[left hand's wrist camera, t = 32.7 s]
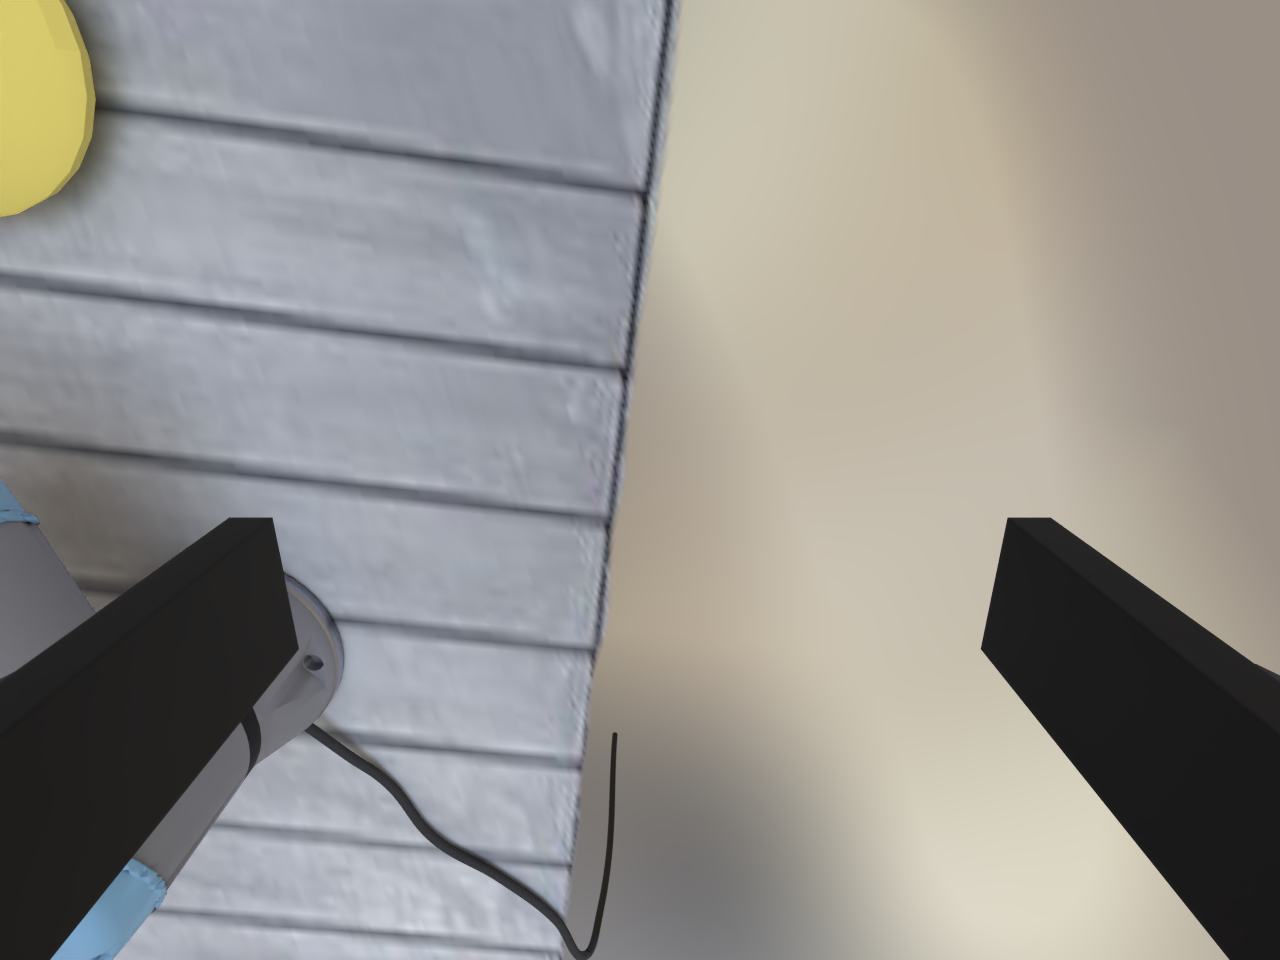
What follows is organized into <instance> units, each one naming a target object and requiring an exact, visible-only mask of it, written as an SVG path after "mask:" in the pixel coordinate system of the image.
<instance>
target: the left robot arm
mask: <svg viewBox="0 0 1280 960" xmlns="http://www.w3.org/2000/svg"><path fill="white" fill-rule="evenodd" d="M39 523H40V522H39V521H38V519H37V518H36V517H35V516H34V515H32V514H31V513H27V512H25V510H24V509H23V508H22V506H21V505H20V504H19V502H18V501H17V500H16V499H15V497H14V496H13V495H12V493H11V492H10V491H9V489H8V488H7V487H6V486H5V484H4V483H3V482H2V480H1V479H0V960H113V959H114V957H115V956H116V955H117V954H118V953H119V952H120V950H121V949H122V948H123V947H124V945H125V944H126V943H127V942H128V941H129V939H130V938H131V937H132V936H133V934H134V933H135V932H136V931H137V930H138V928H139V927H140V926H141V925H142V923H143V922H144V921H145V920H146V919H147V917H148V916H149V915H150V914H151V913H153V912H154V911H155V910H156V909H157V908H158V907H159V906H160V905H161V903H162V902H163V900H164V897H165V895H166V894H167V892H166V891H167V889H168V888H169V886H170V885H171V884H172V882H173V881H174V879H175V878H176V876H177V875H178V874H179V872H180V871H181V869H182V868H183V866H184V865H185V864H186V862H187V861H188V859H189V858H190V856H191V855H192V854H193V852H194V851H195V849H196V848H197V847H198V845H199V844H200V842H201V841H202V839H203V838H204V837H205V835H206V834H207V832H208V831H209V829H210V828H211V827H212V825H213V824H214V822H215V821H216V819H217V818H218V817H219V815H220V814H221V812H222V811H223V810H224V808H225V807H226V805H227V804H228V802H229V801H230V800H231V798H232V797H233V795H234V794H235V792H236V791H237V790H238V788H239V787H240V785H241V784H242V782H243V781H244V779H245V778H246V777H247V775H248V774H249V772H250V771H251V770H252V768H253V767H254V766H255V765H256V764H258V763H259V762H260V761H262V760H263V759H265V758H266V757H267V756H269V755H270V754H272V753H273V752H275V751H276V750H277V749H279V748H280V747H282V746H283V745H285V744H286V743H287V742H289V741H290V740H292V739H293V738H294V737H296V736H297V735H299V734H300V733H301V732H303V731H306V732H307V733H308V734H310V735H311V736H313V737H314V738H315V739H317V740H318V741H320V742H321V743H322V744H324V745H325V746H326V747H328V748H329V749H331V750H332V751H333V752H335V753H336V754H338V755H339V756H340V757H342V758H343V759H345V760H346V761H348V762H349V763H351V764H352V765H354V766H355V767H357V768H359V769H360V770H362V771H363V772H365V773H367V774H368V775H370V776H371V777H373V778H374V779H375V780H377V781H378V782H379V783H380V784H382V785H383V786H384V787H385V788H386V789H387V790H388V791H389V792H390V793H391V794H392V795H393V796H394V798H395V799H396V800H397V801H398V803H399V804H400V805H401V807H402V808H403V809H404V811H405V812H406V814H407V815H408V817H409V818H410V820H411V821H412V822H413V824H414V825H415V826H416V828H417V829H418V830H419V831H420V832H421V833H422V834H423V835H424V836H425V837H426V838H427V839H428V840H429V841H430V842H431V843H432V844H434V845H435V846H436V847H437V848H439V849H440V850H442V851H443V852H445V853H446V854H448V855H449V856H451V857H453V858H455V859H456V860H458V861H460V862H462V863H464V864H466V865H468V866H470V867H472V868H474V869H476V870H478V871H480V872H482V873H484V874H486V875H487V876H489V877H491V878H492V879H494V880H496V881H497V882H499V883H500V884H502V885H503V886H505V887H506V888H508V889H509V890H511V891H512V892H514V893H515V894H517V895H518V896H520V897H521V898H523V899H524V900H526V901H527V902H528V903H530V904H531V905H532V906H534V907H535V908H536V909H538V910H539V911H540V912H541V913H542V914H543V915H545V916H546V917H547V918H548V919H549V920H550V921H551V922H552V923H553V924H554V925H555V926H556V927H557V929H558V930H559V932H560V934H561V935H562V937H563V939H564V941H565V943H566V945H567V947H568V949H569V951H570V953H571V954H572V955H573V957H574V958H575V959H576V960H587V959H589V958H590V957H591V956H592V954H593V953H594V951H595V949H596V946H597V943H598V938H599V934H600V928H601V923H602V918H603V912H604V907H605V902H606V897H607V891H608V884H609V878H610V870H611V862H612V851H613V839H614V820H615V783H616V752H617V736H618V734H617V733H616V732H614V733H613V734H612V745H611V763H610V791H609V818H608V834H607V847H606V857H605V866H604V873H603V880H602V886H601V892H600V897H599V902H598V906H597V911H596V916H595V921H594V927H593V931H592V936H591V939H590V943H589V945H588V947H587V949H586V950H585V951H580V950H579V949H578V948H577V946H576V944H575V942H574V940H573V938H572V936H571V934H570V932H569V930H568V928H567V927H566V925H565V924H564V922H563V921H562V919H561V918H560V917H559V916H558V915H557V914H556V913H555V912H554V911H553V910H552V909H551V908H550V907H549V906H547V905H546V904H545V903H544V902H543V901H541V900H540V899H539V898H538V897H536V896H535V895H534V894H532V893H531V892H530V891H528V890H527V889H525V888H524V887H522V886H521V885H519V884H518V883H516V882H515V881H513V880H512V879H510V878H509V877H507V876H506V875H504V874H503V873H501V872H500V871H498V870H497V869H495V868H493V867H492V866H490V865H488V864H486V863H484V862H482V861H480V860H478V859H476V858H474V857H472V856H470V855H469V854H467V853H465V852H463V851H461V850H459V849H457V848H456V847H454V846H452V845H451V844H449V843H448V842H446V841H445V840H443V839H442V838H441V837H440V836H438V835H437V834H436V833H435V832H434V831H433V830H432V829H431V828H430V827H429V826H428V825H427V824H426V823H425V822H424V821H423V819H422V818H421V817H420V815H419V814H418V813H417V811H416V810H415V808H414V807H413V805H412V804H411V802H410V801H409V800H408V798H407V797H406V795H405V794H404V793H403V792H402V790H401V789H400V788H399V787H398V786H397V785H396V784H395V783H394V782H393V781H392V780H391V779H390V778H389V777H388V776H387V775H386V774H385V773H383V772H382V771H381V770H379V769H378V768H377V767H375V766H374V765H372V764H371V763H369V762H367V761H366V760H364V759H363V758H361V757H359V756H358V755H356V754H355V753H353V752H352V751H351V750H349V749H348V748H346V747H345V746H344V745H342V744H341V743H339V742H338V741H337V740H335V739H334V738H332V737H331V736H330V735H328V734H327V733H326V732H324V731H323V730H322V729H320V728H319V727H317V726H316V725H315V724H313V722H314V721H315V720H316V719H317V718H318V717H319V716H320V715H321V714H322V712H323V711H324V710H325V708H326V707H327V705H328V704H329V702H330V701H331V699H332V698H333V696H334V694H335V693H336V691H337V689H338V687H339V684H340V681H341V678H342V674H343V667H344V656H343V648H342V643H341V639H340V636H339V633H338V631H337V629H336V626H335V624H334V622H333V621H332V619H331V617H330V616H329V614H328V613H327V611H326V610H325V608H324V607H323V606H322V605H321V603H320V602H319V601H318V600H317V599H316V598H315V597H314V596H313V595H312V594H311V593H310V592H309V591H308V590H307V589H305V588H304V587H303V586H302V585H300V584H299V583H298V582H296V581H295V580H293V579H292V578H290V577H288V576H287V575H285V574H284V572H283V568H282V563H281V558H280V553H279V548H278V543H277V538H276V533H275V528H274V523H273V519H272V518H228V519H227V520H225V521H224V522H223V523H221V524H220V525H218V526H217V527H216V528H214V529H213V530H212V531H210V532H209V533H207V534H206V535H205V536H203V537H202V538H200V539H199V540H198V541H196V542H195V543H193V544H192V545H191V546H189V547H188V548H186V549H185V550H184V551H182V552H181V553H179V554H178V555H177V556H175V557H174V558H172V559H171V560H170V561H168V562H167V563H165V564H164V565H163V566H161V567H160V568H159V569H157V570H156V571H154V572H153V573H152V574H150V575H149V576H147V577H146V578H145V579H143V580H142V581H140V582H139V583H138V584H136V585H135V586H133V587H132V588H131V589H129V590H128V591H126V592H125V593H124V594H122V595H121V596H119V597H118V598H117V599H115V600H114V601H112V602H111V603H110V604H108V605H107V606H106V607H104V608H103V609H101V610H100V611H99V612H97V613H96V612H95V611H94V609H93V608H92V606H91V605H90V603H89V602H88V600H87V599H86V597H85V596H84V594H83V593H82V591H81V590H80V589H79V587H78V586H77V584H76V583H75V581H74V580H73V578H72V577H71V575H70V574H69V572H68V571H67V569H66V568H65V566H64V565H63V563H62V562H61V560H60V559H59V557H58V556H57V554H56V553H55V551H54V550H53V548H52V547H51V545H50V544H49V543H48V541H47V540H46V538H45V537H44V535H43V534H42V532H41V531H40V529H39V528H38V526H37V525H38V524H39ZM981 650H982V651H983V652H984V654H985V655H986V656H987V657H988V659H989V660H990V661H991V662H992V664H993V665H994V666H995V667H996V669H997V670H998V671H999V672H1000V674H1001V675H1002V676H1003V677H1004V679H1005V680H1006V681H1007V682H1008V684H1009V685H1010V686H1011V687H1012V689H1013V690H1014V691H1015V692H1016V694H1017V695H1018V696H1019V697H1020V699H1021V700H1022V701H1023V702H1024V704H1025V705H1026V706H1027V707H1028V709H1029V710H1030V711H1031V712H1032V714H1033V715H1034V716H1035V717H1036V719H1037V720H1038V721H1039V722H1040V724H1041V725H1042V726H1043V727H1044V729H1045V730H1046V731H1047V732H1048V734H1049V735H1050V736H1051V737H1052V739H1053V740H1054V741H1055V742H1056V743H1057V745H1058V746H1059V747H1060V749H1061V750H1062V751H1063V752H1064V754H1065V755H1066V756H1067V757H1068V759H1069V760H1070V761H1071V762H1072V764H1073V765H1074V766H1075V767H1076V769H1077V770H1078V771H1079V772H1080V774H1081V775H1082V776H1083V777H1084V778H1085V780H1086V781H1087V782H1088V783H1089V785H1090V786H1091V787H1092V788H1093V790H1094V791H1095V792H1096V794H1097V795H1098V796H1099V797H1100V799H1101V800H1102V801H1103V802H1104V804H1105V805H1106V806H1107V807H1108V809H1109V810H1110V811H1111V812H1112V813H1113V815H1114V816H1115V817H1116V818H1117V820H1118V821H1119V822H1120V824H1121V825H1122V826H1123V827H1124V829H1125V830H1126V831H1127V832H1128V833H1129V835H1130V836H1131V837H1132V838H1133V840H1134V841H1135V842H1136V843H1137V845H1138V846H1139V847H1140V848H1141V850H1142V851H1143V852H1144V853H1145V855H1146V856H1147V857H1148V858H1149V860H1150V861H1151V862H1152V863H1153V865H1154V866H1155V867H1156V868H1157V870H1158V871H1159V872H1160V873H1161V875H1162V876H1163V877H1164V878H1165V880H1166V881H1167V882H1168V883H1169V885H1170V886H1171V887H1172V888H1173V890H1174V891H1175V892H1176V893H1177V895H1178V896H1179V897H1180V898H1181V900H1182V901H1183V902H1184V903H1185V905H1186V906H1187V907H1188V908H1189V910H1190V911H1191V912H1192V913H1193V915H1194V916H1195V917H1196V918H1197V920H1198V921H1199V922H1200V923H1201V925H1202V926H1203V927H1204V928H1205V930H1206V931H1207V932H1208V933H1209V935H1210V936H1211V937H1212V938H1213V940H1214V941H1215V942H1216V943H1217V945H1218V946H1219V947H1220V948H1221V950H1222V951H1223V952H1224V953H1225V955H1226V956H1227V957H1228V958H1229V960H1280V675H1278V674H1276V673H1274V672H1271V671H1269V670H1267V669H1265V668H1263V667H1261V666H1259V665H1257V664H1254V663H1253V662H1251V661H1250V660H1248V659H1247V658H1246V657H1244V656H1243V655H1241V654H1240V653H1239V652H1237V651H1236V650H1234V649H1233V648H1232V647H1230V646H1229V645H1227V644H1226V643H1225V642H1223V641H1222V640H1220V639H1219V638H1218V637H1216V636H1215V635H1214V634H1212V633H1211V632H1209V631H1208V630H1206V629H1205V628H1204V627H1202V626H1201V625H1200V624H1198V623H1197V622H1195V621H1194V620H1193V619H1191V618H1190V617H1188V616H1187V615H1186V614H1184V613H1183V612H1181V611H1180V610H1179V609H1177V608H1176V607H1174V606H1173V605H1172V604H1170V603H1169V602H1168V601H1166V600H1165V599H1163V598H1162V597H1161V596H1159V595H1158V594H1156V593H1155V592H1154V591H1152V590H1151V589H1149V588H1148V587H1147V586H1145V585H1144V584H1142V583H1141V582H1140V581H1138V580H1137V579H1135V578H1134V577H1133V576H1131V575H1130V574H1128V573H1127V572H1126V571H1124V570H1123V569H1121V568H1120V567H1119V566H1117V565H1116V564H1115V563H1113V562H1112V561H1110V560H1109V559H1108V558H1106V557H1105V556H1103V555H1102V554H1101V553H1099V552H1098V551H1096V550H1095V549H1094V548H1092V547H1091V546H1089V545H1088V544H1087V543H1085V542H1084V541H1082V540H1081V539H1080V538H1078V537H1077V536H1075V535H1074V534H1073V533H1071V532H1070V531H1068V530H1067V529H1066V528H1064V527H1063V526H1062V525H1060V524H1059V523H1057V522H1056V521H1055V520H1053V519H1052V518H1008V519H1007V524H1006V528H1005V533H1004V538H1003V543H1002V548H1001V553H1000V558H999V563H998V568H997V572H996V578H995V582H994V587H993V592H992V597H991V602H990V607H989V612H988V617H987V621H986V627H985V631H984V636H983V641H982V646H981Z"/></svg>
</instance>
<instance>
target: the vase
mask: <svg viewBox="0 0 1280 960" xmlns="http://www.w3.org/2000/svg"><path fill="white" fill-rule="evenodd" d="M95 101H96V98H95V91H94V84H93V78H92V71H91V64H90V58H89V55H88V52H87V50H86V47H85V44H84V42H83V39H82V36H81V34H80V31H79V29H78V26H77V23H76V21H75V18H74V15H73V13H72V12H71V10H70V9H69V7H68V5H67V4H66V2H65V1H64V0H0V217H3V216H9V215H14V214H19V213H21V212H23V211H25V210H27V209H29V208H31V207H33V206H35V205H36V204H38V203H40V202H42V201H44V200H45V199H47V198H49V197H51V196H53V195H55V194H56V193H58V192H59V191H60V190H61V189H62V188H63V186H64V185H65V184H66V183H67V182H68V181H69V180H70V178H71V177H72V176H73V175H74V174H75V173H76V172H77V170H78V169H79V168H80V165H81V163H82V160H83V158H84V155H85V153H86V151H87V148H88V146H89V143H90V141H91V138H92V132H93V122H94V112H95Z"/></svg>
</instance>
